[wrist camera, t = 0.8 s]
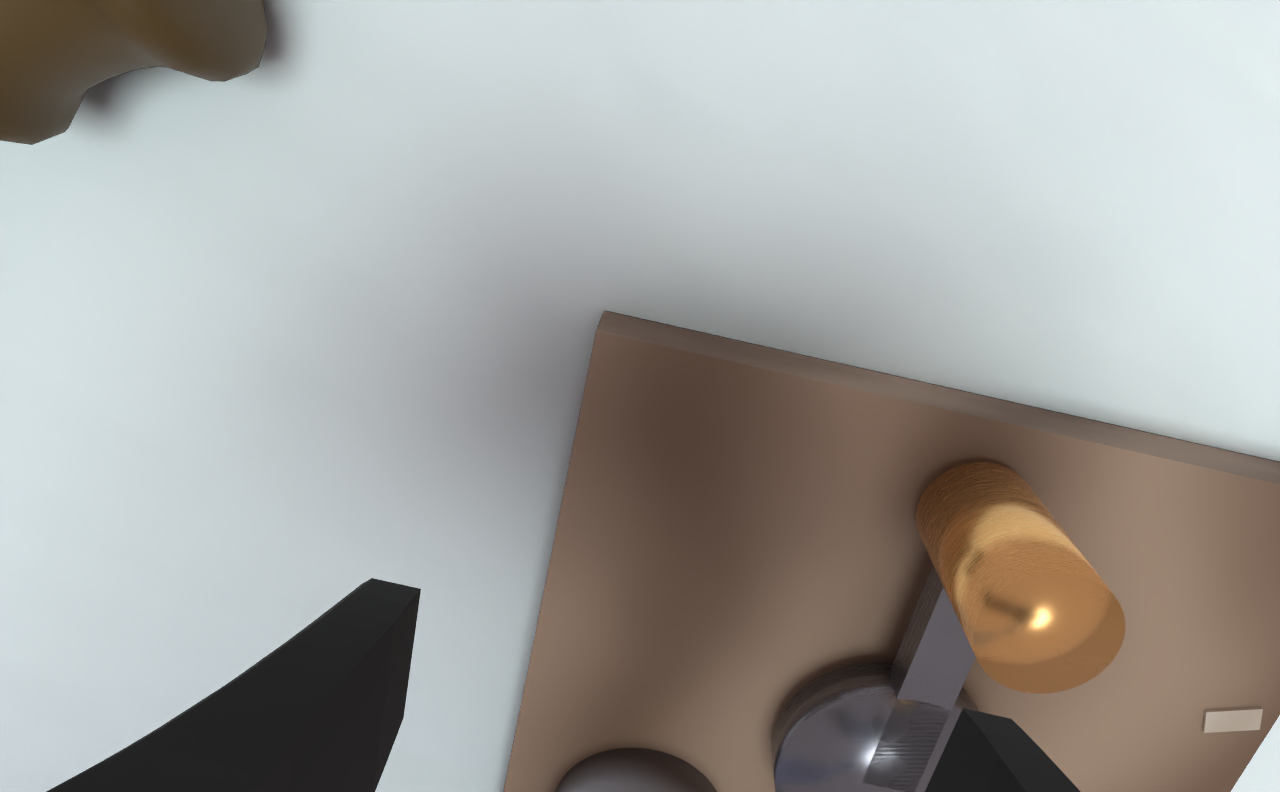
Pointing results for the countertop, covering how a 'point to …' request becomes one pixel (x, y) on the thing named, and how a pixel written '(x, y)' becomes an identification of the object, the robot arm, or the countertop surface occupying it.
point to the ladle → (955, 640)
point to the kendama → (112, 51)
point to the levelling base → (869, 570)
